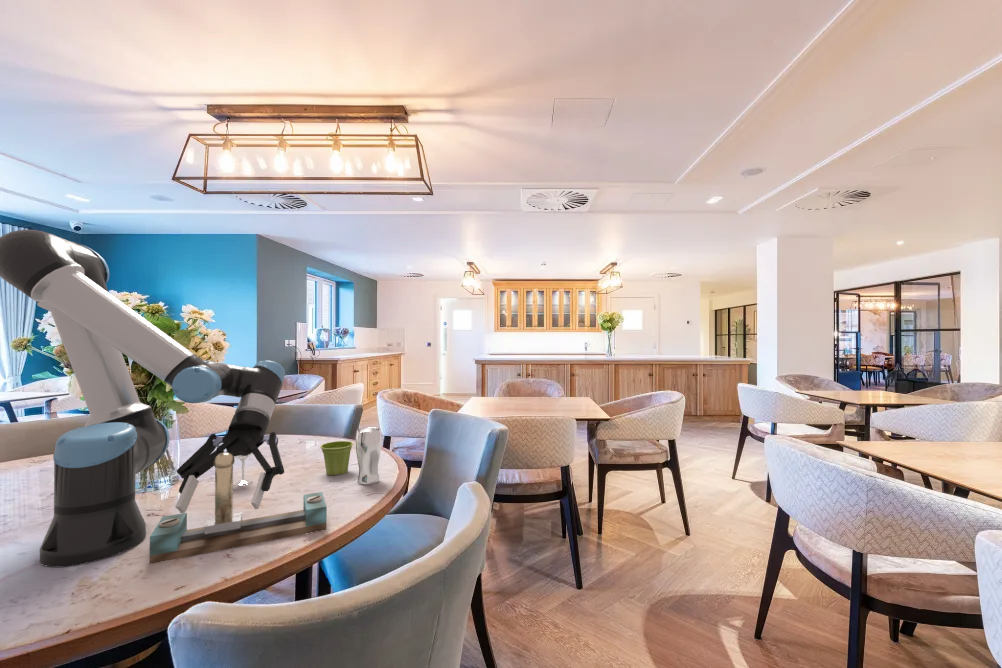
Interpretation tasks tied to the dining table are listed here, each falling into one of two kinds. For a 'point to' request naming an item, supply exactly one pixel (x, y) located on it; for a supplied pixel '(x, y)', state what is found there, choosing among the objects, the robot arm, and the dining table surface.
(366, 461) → the beer glass
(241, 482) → the wineglass
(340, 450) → the plant pot
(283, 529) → the rail track
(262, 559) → the dining table surface
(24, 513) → the dining table surface
